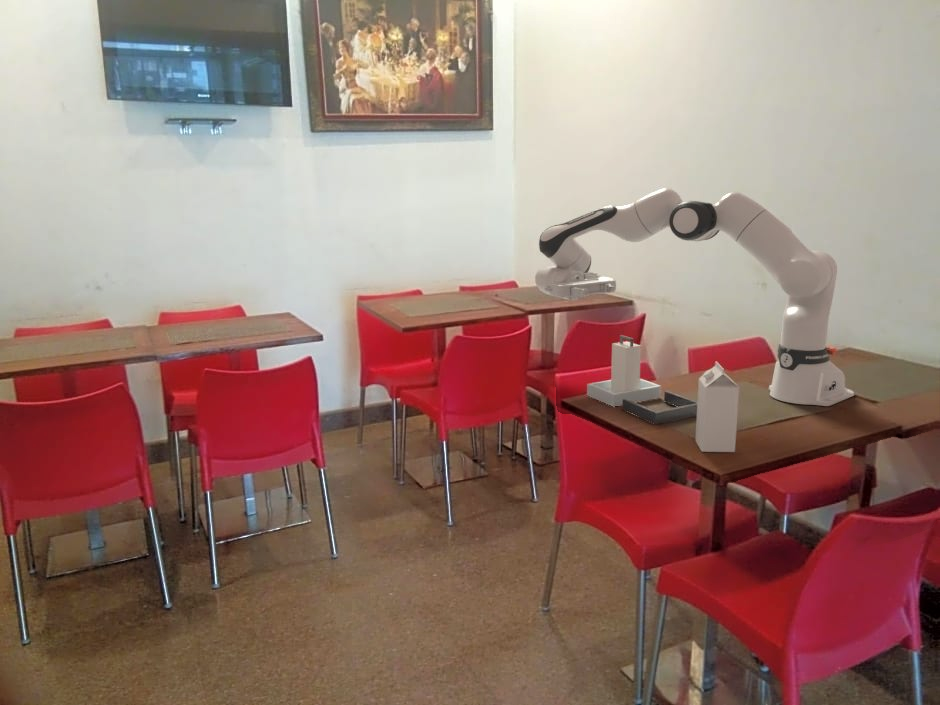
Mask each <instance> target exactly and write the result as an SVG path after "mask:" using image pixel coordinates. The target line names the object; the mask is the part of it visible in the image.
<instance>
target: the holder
mask: <svg viewBox="0 0 940 705" xmlns="http://www.w3.org/2000/svg"><path fill="white" fill-rule="evenodd" d="M663 398H664V399H663V402H664V401H666V402H669V403H671V404H674V405H676V406H678V407H676V406H674V407H671V408H666V409H663V410H661V409H660V410H654V409H652V408H649V407H647V406H645V405H643V404H640V403H635V402H632V401H630V400H628V399H623V403H622V406H621V407H622V409H623V410H625V411H628V412H630V413H633V414H635V415H637V416H639V417H641V418H643V419H646V420H648V421H650V422H652V423H651V424H653V423H654V424H653V425H655V424H657V425H661V423H662V424H666V423H671V422H675V421H679V419H680V420H683V419H684V418H685V419H689V418H694V417H697V402H698V400H694V399H691V398H690V397H685V396H683V395H680V394H677V393H675V392H672V391H669V390H664V397H663ZM666 402H665V403H666ZM671 404H670V405H671ZM622 409H621V410H622ZM623 410H622V411H623ZM625 411H624V412H625ZM630 413H629V414H630ZM637 416H636V417H637ZM693 416H694V417H693ZM639 417H638V418H639ZM688 417H689V418H688ZM641 418H640V419H641ZM643 419H642V420H643ZM646 420H645V421H646ZM674 420H675V421H674ZM648 421H647V422H648ZM670 421H671V422H670ZM650 422H649V423H650Z"/></svg>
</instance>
